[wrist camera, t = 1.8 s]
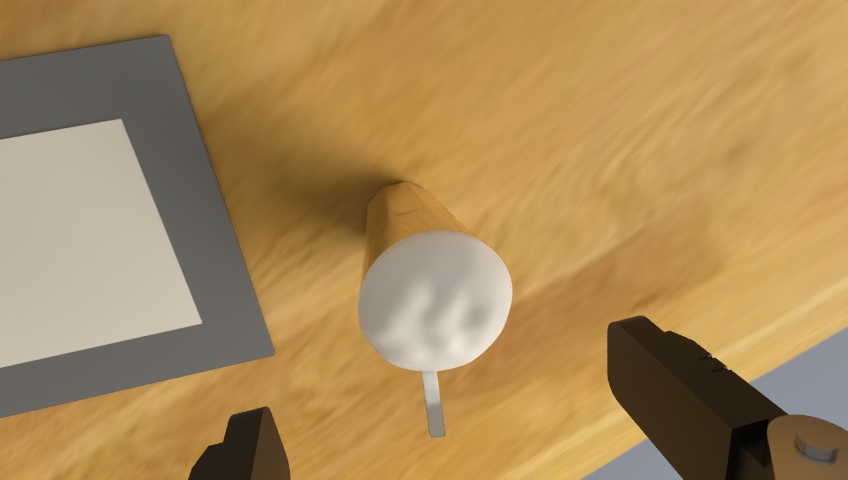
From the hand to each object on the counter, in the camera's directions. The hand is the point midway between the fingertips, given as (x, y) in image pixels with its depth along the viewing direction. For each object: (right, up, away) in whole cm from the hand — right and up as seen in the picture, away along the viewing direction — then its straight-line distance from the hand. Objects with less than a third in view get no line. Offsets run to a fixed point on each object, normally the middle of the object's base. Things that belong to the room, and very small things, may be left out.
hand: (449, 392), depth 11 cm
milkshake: (-2, +4, +11) cm, 12 cm away
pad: (-16, +3, +8) cm, 18 cm away
